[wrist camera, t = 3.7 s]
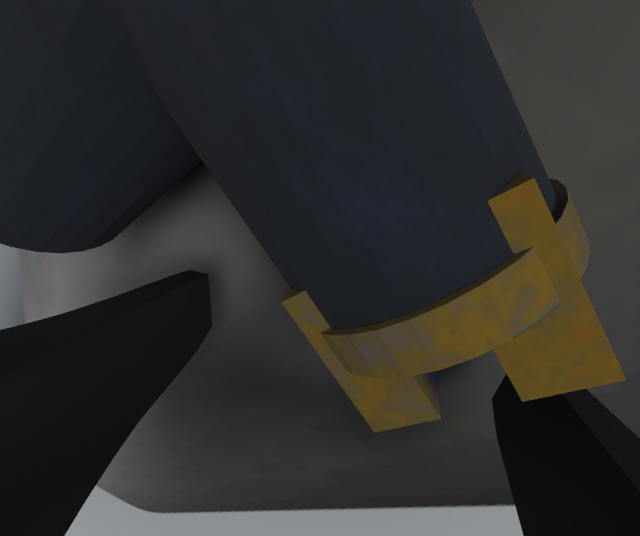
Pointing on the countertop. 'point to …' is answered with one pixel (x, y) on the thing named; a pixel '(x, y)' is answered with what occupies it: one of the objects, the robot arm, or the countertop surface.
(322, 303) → the pipe connector
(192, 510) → the countertop surface
